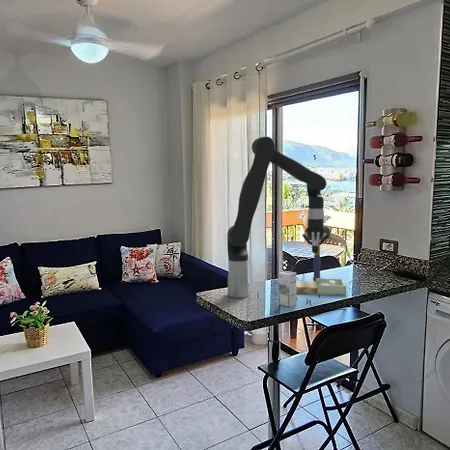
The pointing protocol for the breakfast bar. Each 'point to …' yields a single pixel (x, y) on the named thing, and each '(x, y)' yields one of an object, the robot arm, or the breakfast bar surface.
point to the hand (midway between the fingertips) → (314, 253)
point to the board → (306, 287)
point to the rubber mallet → (318, 254)
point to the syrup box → (287, 288)
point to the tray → (331, 287)
